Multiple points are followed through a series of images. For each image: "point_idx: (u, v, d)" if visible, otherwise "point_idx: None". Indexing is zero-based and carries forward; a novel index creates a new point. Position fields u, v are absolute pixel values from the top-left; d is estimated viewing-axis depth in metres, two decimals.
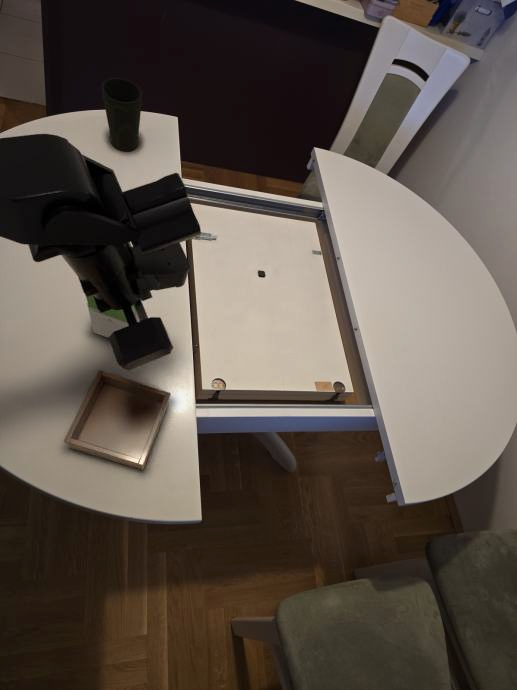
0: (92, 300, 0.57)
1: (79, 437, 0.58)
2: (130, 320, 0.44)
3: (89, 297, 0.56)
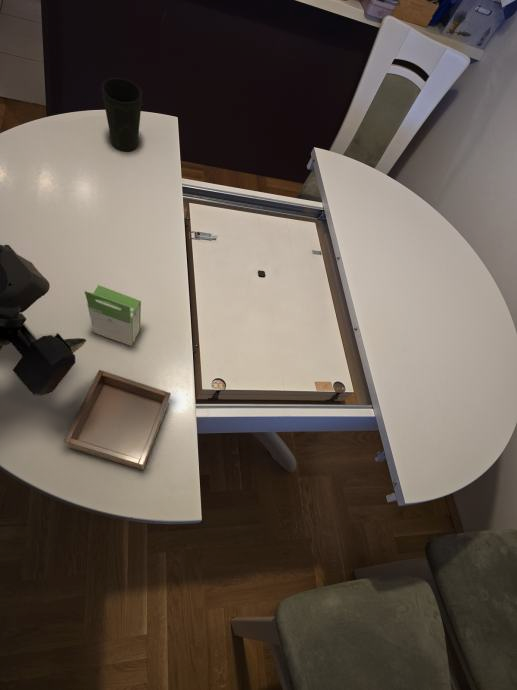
0: (92, 300, 0.57)
1: (79, 437, 0.58)
2: (21, 351, 0.43)
3: (89, 297, 0.56)
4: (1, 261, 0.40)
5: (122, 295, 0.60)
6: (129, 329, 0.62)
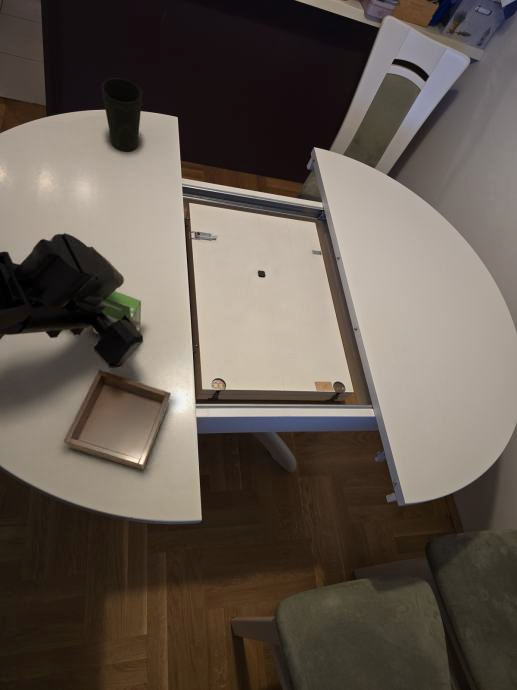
0: None
1: (79, 437, 0.58)
2: (100, 332, 0.53)
3: None
4: None
5: (122, 295, 0.60)
6: None
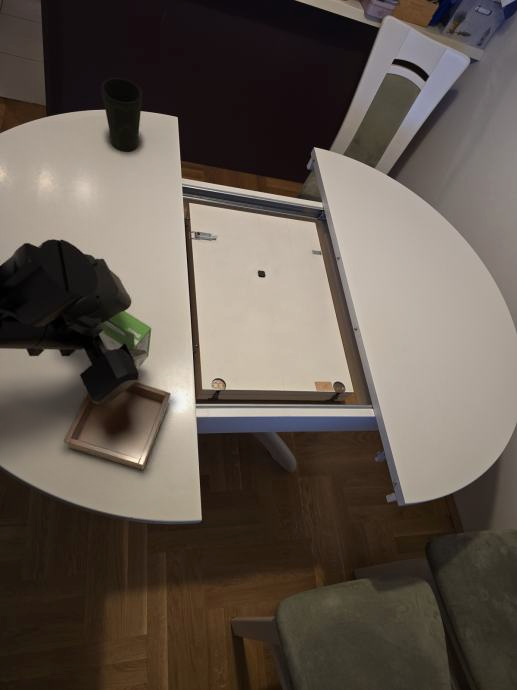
0: None
1: (79, 437, 0.58)
2: (91, 358, 0.45)
3: None
4: None
5: (132, 317, 0.52)
6: None
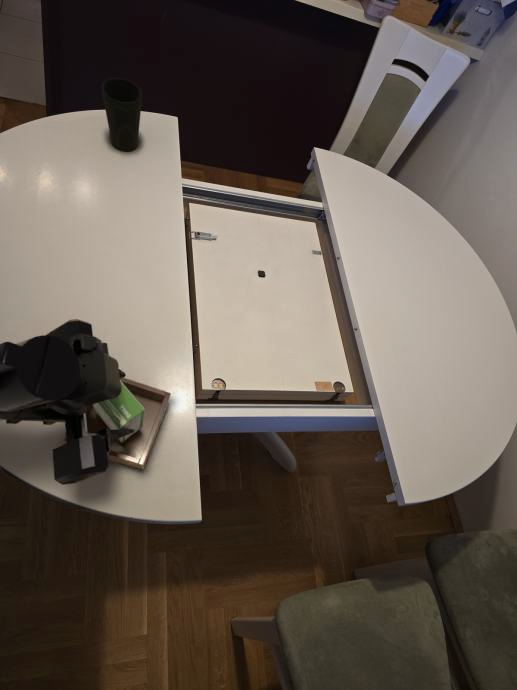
0: None
1: None
2: (68, 436, 0.43)
3: None
4: (91, 358, 0.41)
5: (129, 394, 0.51)
6: None
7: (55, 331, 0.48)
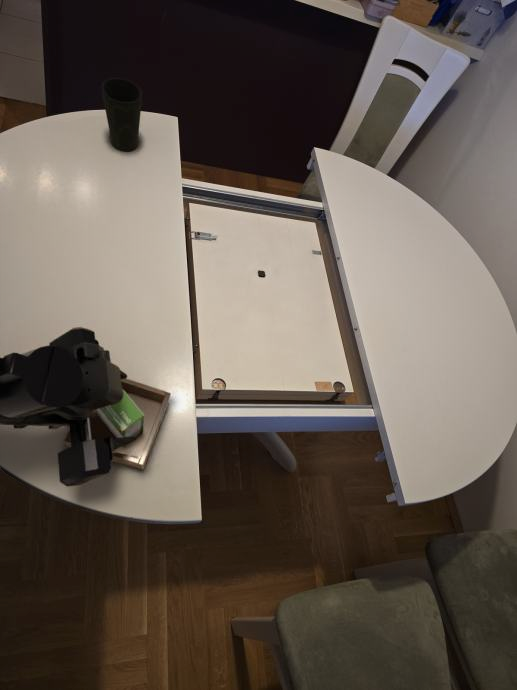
0: None
1: None
2: (73, 440, 0.45)
3: None
4: (93, 366, 0.43)
5: (129, 400, 0.53)
6: (120, 436, 0.54)
7: (59, 339, 0.49)
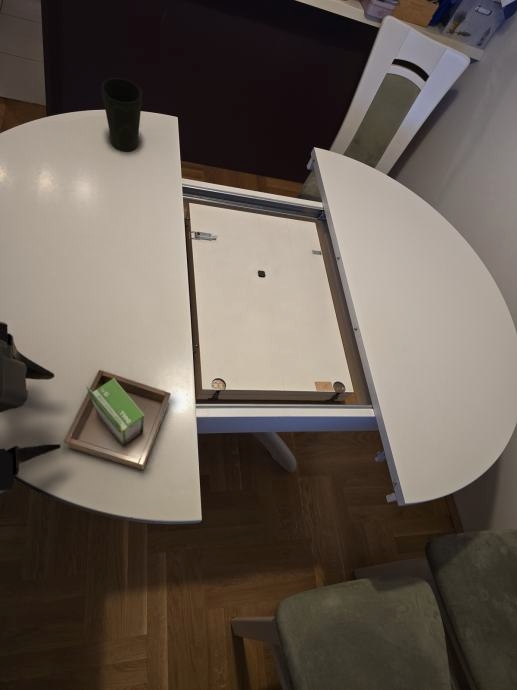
0: (92, 396, 0.50)
1: (79, 437, 0.58)
2: None
3: (90, 392, 0.50)
4: None
5: (129, 400, 0.53)
6: (120, 436, 0.54)
7: None
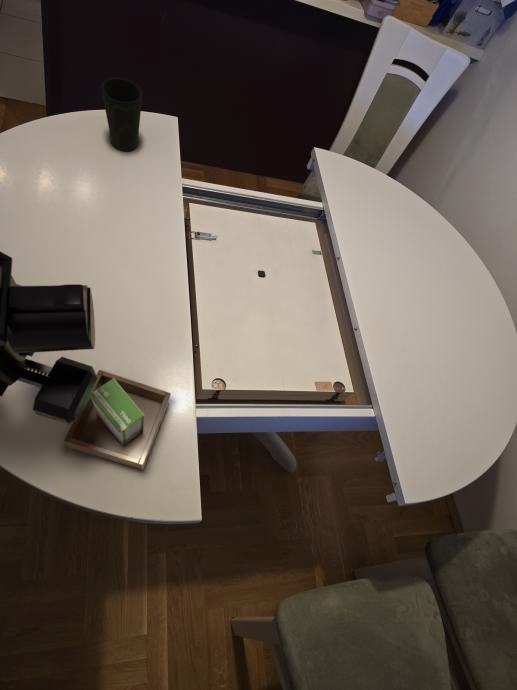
0: (92, 396, 0.50)
1: (79, 437, 0.58)
2: (38, 379, 0.40)
3: (90, 392, 0.50)
4: None
5: (129, 400, 0.53)
6: (120, 436, 0.54)
7: None
